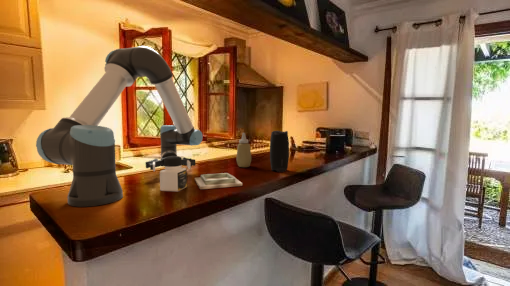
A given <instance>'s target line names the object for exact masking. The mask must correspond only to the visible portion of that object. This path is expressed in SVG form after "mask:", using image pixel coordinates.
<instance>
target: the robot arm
mask: <svg viewBox="0 0 510 286" xmlns="http://www.w3.org/2000/svg"><path fill="white" fill-rule="evenodd" d="M104 62H105V64H104V65H105V66H104V67H103V68H104V74H103V75H102V76H101V78H100V79H99V80H98V81H97V83H95V85H94V86H93V87H92V89H91V90H90V91H89V92H88V94H87V95H86V96H85V98H83V100H82V101H81V103H79V105H78V106H77V107H76V109H74V111H73V112H72V113H71V114H70V115H69V117H68V116H67V117H61V119H60V120H59V121H58V122H57V123H56V124H55V125H54V127H53V128H47V129H45V130H43V131H42V132H41V133H40V134H39V135H38V137H37V138H36V142H35V147H36V151H37V153H38V155H39V156H40V158H42V159H43V160H45V162H47V163H51V164H55V165H68V166H72V181H71V184H70V187H69V190H68V193H67V204H68V205H69V206H71V207H76V208H77V207H78V208H79V207H80V208H82V207H85V208H86V207H87V208H88V207H96V206H102V205H107V204H108V205H109V204H111V203H114V202H118V201H119V200H122V199H123V197H124V194H123V188H122V185H121V182H120V181H119V178H118V176H117V170H116V169H117V168H116V140H115V135H114V134H115V133H114V131H113V130H112V128H109V127H106V126H101V125H99V124H100V123H101V122H102V120H103V119H104V117H105V116H106V115H107V113H108V112H109V111H110V110H111V108H112V107H113V105H114V103H115V102H116V101H117V99H118V98H119V97H120V95H121V94H122V92H123V91H124V90H125V89H126V87H129V88H130V87H132V86H133V85H134V83H135V82H136V80H137V79H138V78H144V77H146V78H147V79H148V80H149V83H150V84H151V85H153V86H154V87H155V89H156V91H157V93H158V95H159V97H160V99H161V101H162V103H163V105H164V107H165V109H166V110H167V113H168V115H169V116H170V118H171V120H172V122H173V124H174V125H172V124H171V125H167V124H165V125H164V124H163V125H161V126H160V159H158V158H154V159H151V160H148V161H146V162H145V169H149V168H150V169H149V170H151V171H153V172H156V168H159V167H164V168H165V160H164V159H165V158H166V157H168V156H178V154H177V153H178V152H177V150H178V149H177V148H178V147H177V146H178V145H180V146H199V145H200V144H202V141H203V132H202V131H201V130H200V129H195V127H194V125H193V123H192V121H191V118H190V115H189V114H188V112H187V110H186V107H185V105H184V103H183V101H182V98H181V96H180V93H179V92H178V89H177V87H176V85H175V83H174V80H173V76H174V74H173V71H172V69H171V67H170V66H169V64H168V63H167V61H166V60H165V59H164V57H163V56H162V55H161V54H160V53H159V52H157V51H156V50H154V49H153V48H152V47H149V46H145V45H141V46H134V47H128V48H127V47H125V48H117V49H113V50H112V51H110V52H108V54H107V55H106V57H105V61H104ZM181 158H182V166H186V167H187V168H188V170H191V168H192V167H194V166H196V159H194V158H193V159H192V158H189V157H181Z"/></svg>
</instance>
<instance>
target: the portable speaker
mask: <svg viewBox="0 0 510 286" xmlns="http://www.w3.org/2000/svg"><path fill="white" fill-rule="evenodd" d="M288 134H289V132H288V130H285V131H282V130H281V131H280V130H272V131H271V134H270V140H269V141H270V142H269V161H270V168H271V171H276V172H277V173H284V172H285V173H286V171H288V168H289V159H290V140H289V135H288Z"/></svg>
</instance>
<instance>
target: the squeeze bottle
mask: <svg viewBox="0 0 510 286" xmlns="http://www.w3.org/2000/svg"><path fill="white" fill-rule="evenodd" d="M238 142H239V143H237V149H236V164H237V166H238V167H239V168H249V167H250V166H251V162H252V151H251V144H250V143H249V140H248V139H247V135H246V132H242V136H241V139H239V141H238Z"/></svg>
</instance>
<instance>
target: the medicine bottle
mask: <svg viewBox="0 0 510 286" xmlns="http://www.w3.org/2000/svg"><path fill="white" fill-rule="evenodd" d="M182 158H183V157H181V156H180V155H177V156H168V157H166V158H165V159H164V160H165V167H164V169H162V170H160V171H159V190H160V191H162V192H181V191H182V190H183V189H185V188H187V186H188V178H187V177H188V173H187V168H186V167H185V168H184V167H183V165H182ZM182 167H183V168H182Z"/></svg>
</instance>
